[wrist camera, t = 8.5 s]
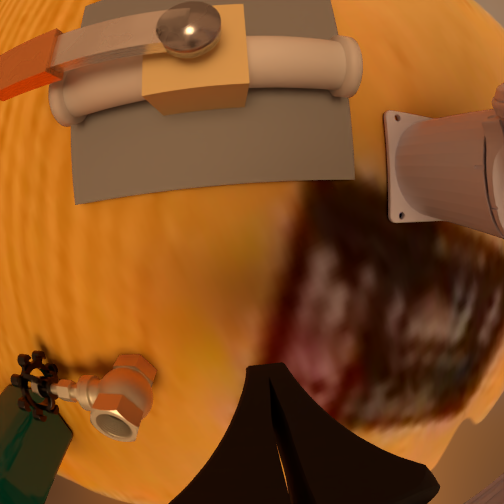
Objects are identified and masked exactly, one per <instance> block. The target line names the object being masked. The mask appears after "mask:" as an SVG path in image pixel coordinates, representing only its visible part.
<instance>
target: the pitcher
mask: <svg viewBox="0 0 504 504" xmlns="http://www.w3.org/2000/svg"><path fill="white" fill-rule="evenodd" d="M28 390H29V393H30V395H31V397H32V399H33V400H34V401H35V402H36V403H38V404H39V403H41V402H43V401H44V399H45V398H43V397H41V396H39V395H37V394H35V393H34V392H33V391H32V389H28ZM21 397H22V392H21V389H20V388H17V387H14V386H11V385H9V386H7V387H6V388H5V389H4V390H3V392H2V393H1V394H0V504H45V501H46V499H47V496H48V494H49V491H50V489H51V486H52V484H53V481H54V479H55V476H56V474H57V471H58V469H59V467H60V465H61V462H62V460H63V458H64V455H65V453H66V451H67V449H68V447H69V444H70V442H71V440H72V438H73V435H72V432H71V430H70V429H69V428H68V427H67V425H66V424H65V422H64V421H63V420H62V418H61V417H60V416H59V414H56V415H55V414H50V413H48V412H47V411H45V410H43V415H45V416H47V419H46V421H45V422H41V421H37V420H35V419H34V418H33V415H32V412H33V408H32V407H31V406H30V407H29V408H30V409H31V411H30V412H27V411H23V410H21V409H20V408H19V407H18V404H17V402H18V399H19V398H21Z"/></svg>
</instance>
